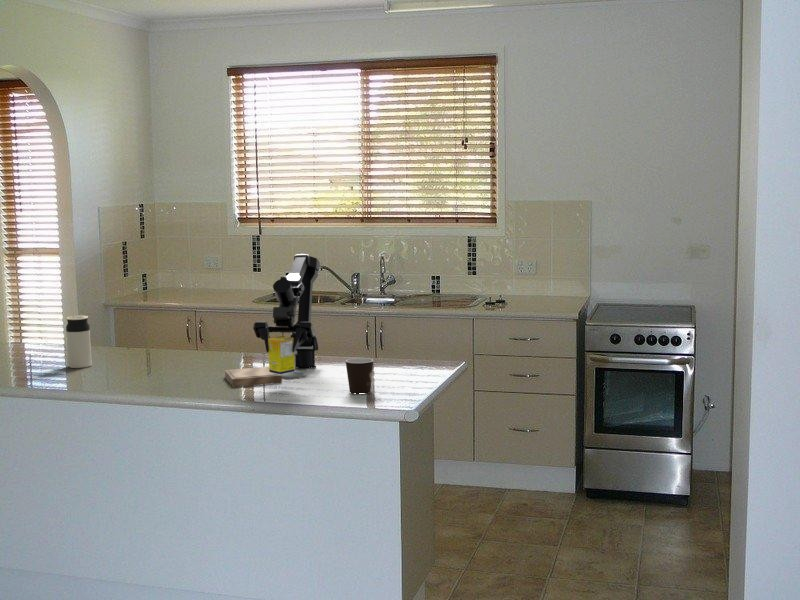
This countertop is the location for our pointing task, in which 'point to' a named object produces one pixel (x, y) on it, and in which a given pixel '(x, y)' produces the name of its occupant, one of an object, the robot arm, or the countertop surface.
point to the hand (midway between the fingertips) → (280, 351)
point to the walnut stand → (252, 376)
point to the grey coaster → (292, 375)
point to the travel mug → (78, 342)
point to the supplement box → (281, 355)
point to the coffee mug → (359, 374)
